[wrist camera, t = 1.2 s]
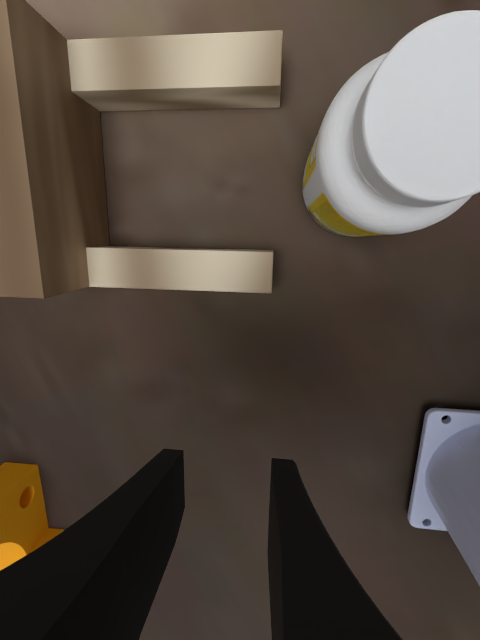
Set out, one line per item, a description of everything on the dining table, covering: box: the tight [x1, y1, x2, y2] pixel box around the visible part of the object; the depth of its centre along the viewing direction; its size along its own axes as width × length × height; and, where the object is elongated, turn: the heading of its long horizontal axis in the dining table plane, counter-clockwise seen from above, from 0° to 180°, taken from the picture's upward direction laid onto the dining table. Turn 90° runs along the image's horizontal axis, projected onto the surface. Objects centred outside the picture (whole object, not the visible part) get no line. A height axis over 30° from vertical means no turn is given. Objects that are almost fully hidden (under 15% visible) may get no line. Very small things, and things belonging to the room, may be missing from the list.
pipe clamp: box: [0, 462, 64, 571], centre depth 22 cm, size 12×4×6 cm, turn 0°
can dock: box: [0, 0, 283, 298], centre depth 15 cm, size 12×11×6 cm
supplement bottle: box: [302, 10, 480, 237], centre depth 12 cm, size 5×5×10 cm
